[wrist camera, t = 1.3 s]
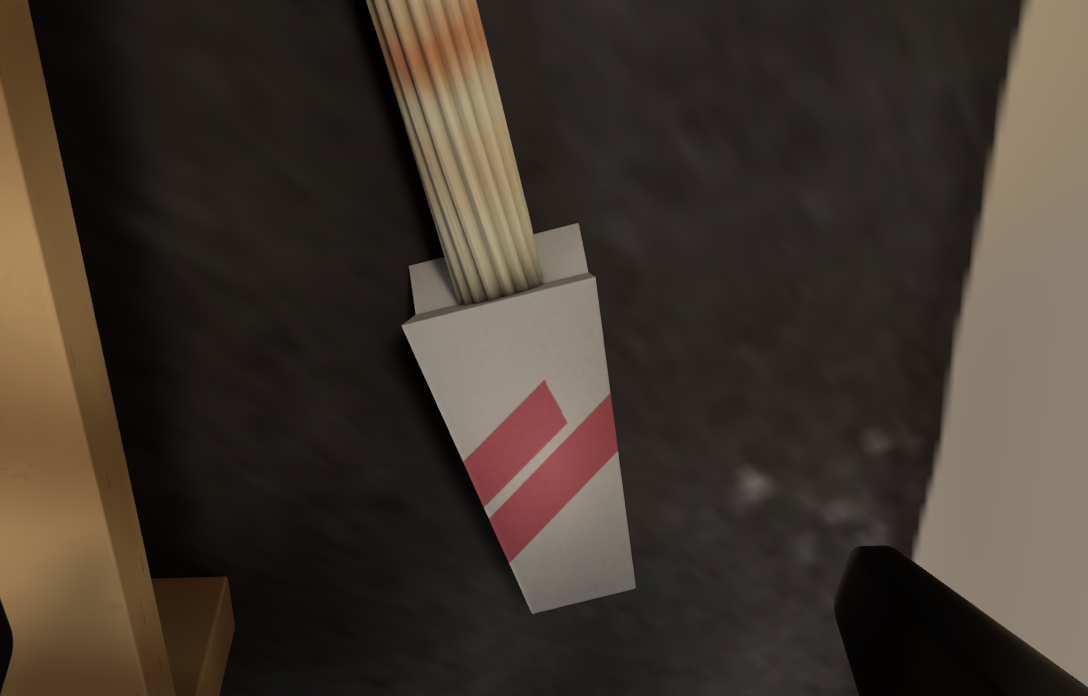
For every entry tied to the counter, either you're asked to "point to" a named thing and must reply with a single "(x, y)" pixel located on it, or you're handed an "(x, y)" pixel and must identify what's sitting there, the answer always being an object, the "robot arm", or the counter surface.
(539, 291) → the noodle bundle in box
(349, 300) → the counter surface
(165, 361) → the counter surface
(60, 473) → the shelf
